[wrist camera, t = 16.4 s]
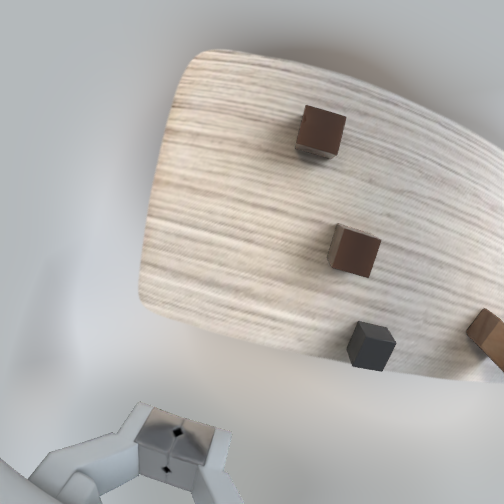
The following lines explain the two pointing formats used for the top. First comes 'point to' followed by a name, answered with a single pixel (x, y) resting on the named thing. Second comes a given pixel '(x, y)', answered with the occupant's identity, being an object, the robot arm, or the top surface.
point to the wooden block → (489, 336)
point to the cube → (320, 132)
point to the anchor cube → (370, 346)
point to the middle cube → (353, 250)
